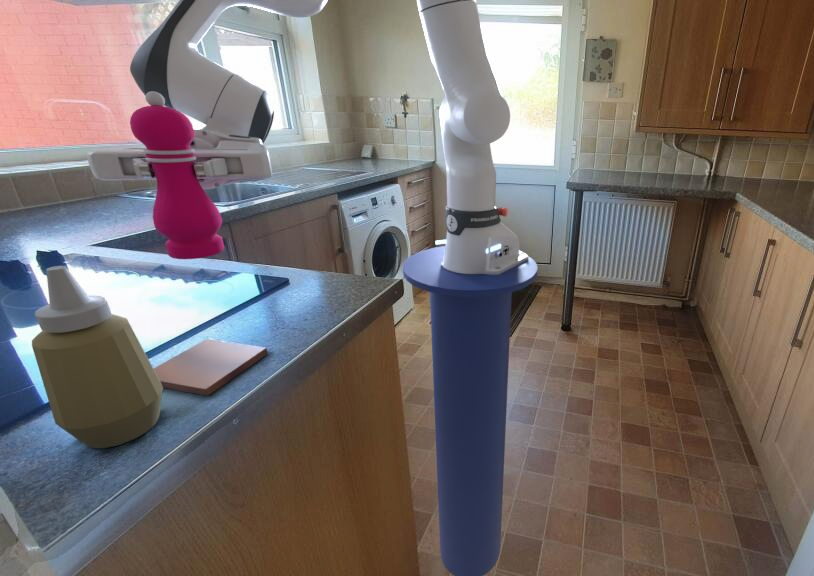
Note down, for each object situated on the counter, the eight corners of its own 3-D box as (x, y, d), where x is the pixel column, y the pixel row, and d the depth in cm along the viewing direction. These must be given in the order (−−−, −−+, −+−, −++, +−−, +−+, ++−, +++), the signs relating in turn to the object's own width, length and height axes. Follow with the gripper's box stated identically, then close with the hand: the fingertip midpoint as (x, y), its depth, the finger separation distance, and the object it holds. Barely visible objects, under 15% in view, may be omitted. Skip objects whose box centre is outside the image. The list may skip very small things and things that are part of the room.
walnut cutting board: (209, 344, 58) (207, 338, 58) (268, 353, 57) (266, 347, 56) (140, 383, 50) (137, 376, 49) (207, 396, 48) (205, 389, 48)
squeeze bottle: (116, 465, 38) (37, 290, 31) (45, 451, 40) (-47, 280, 33) (191, 409, 46) (141, 257, 39) (129, 399, 47) (70, 250, 40)
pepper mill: (209, 241, 60) (170, 92, 53) (240, 249, 58) (203, 93, 50) (152, 254, 54) (98, 88, 47) (183, 264, 52) (132, 89, 44)
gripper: (106, 135, 58) (51, 143, 46) (271, 137, 65) (260, 145, 54) (121, 180, 60) (73, 199, 48) (279, 178, 68) (269, 193, 56)
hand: (173, 170), depth 51 cm, fingers closed on pepper mill, 5 cm apart
